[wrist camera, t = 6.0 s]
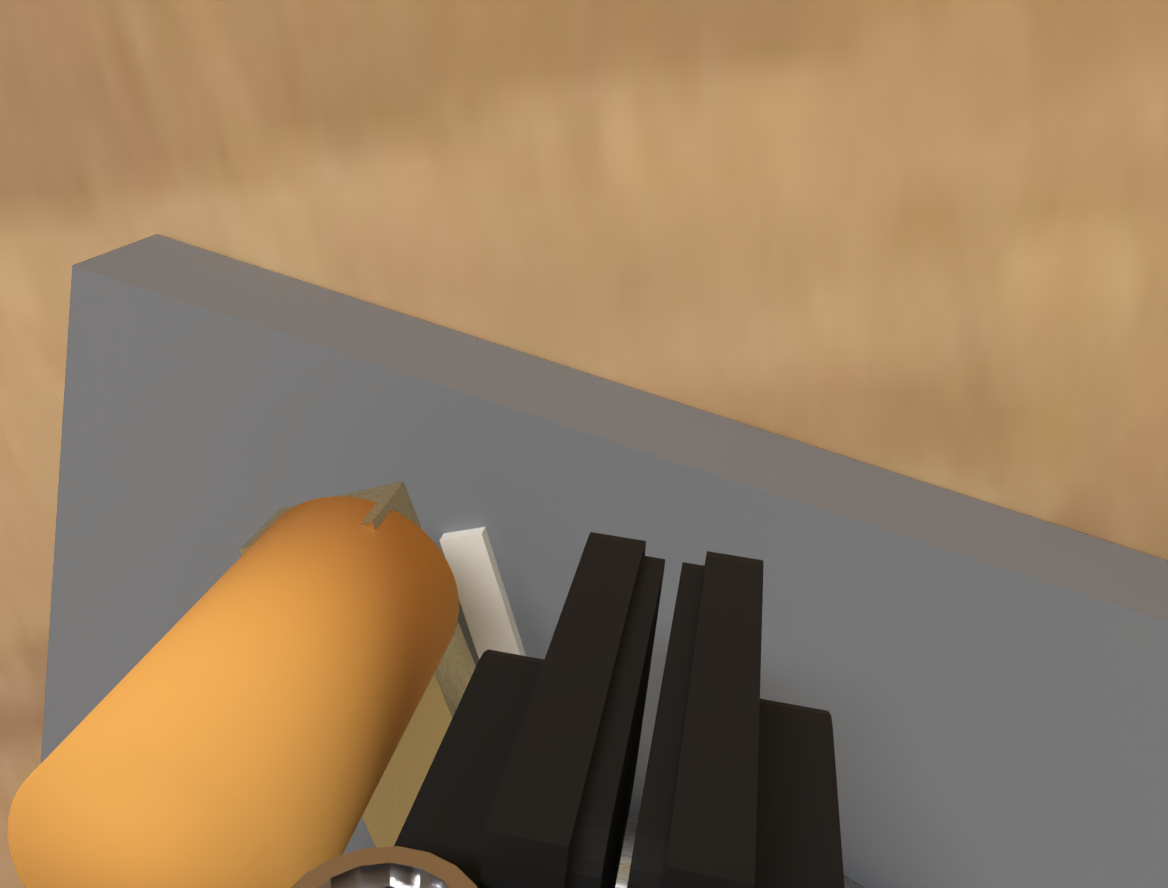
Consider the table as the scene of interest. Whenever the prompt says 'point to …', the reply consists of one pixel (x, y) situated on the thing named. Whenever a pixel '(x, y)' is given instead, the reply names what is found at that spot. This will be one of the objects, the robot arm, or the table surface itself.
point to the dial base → (632, 510)
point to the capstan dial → (266, 716)
